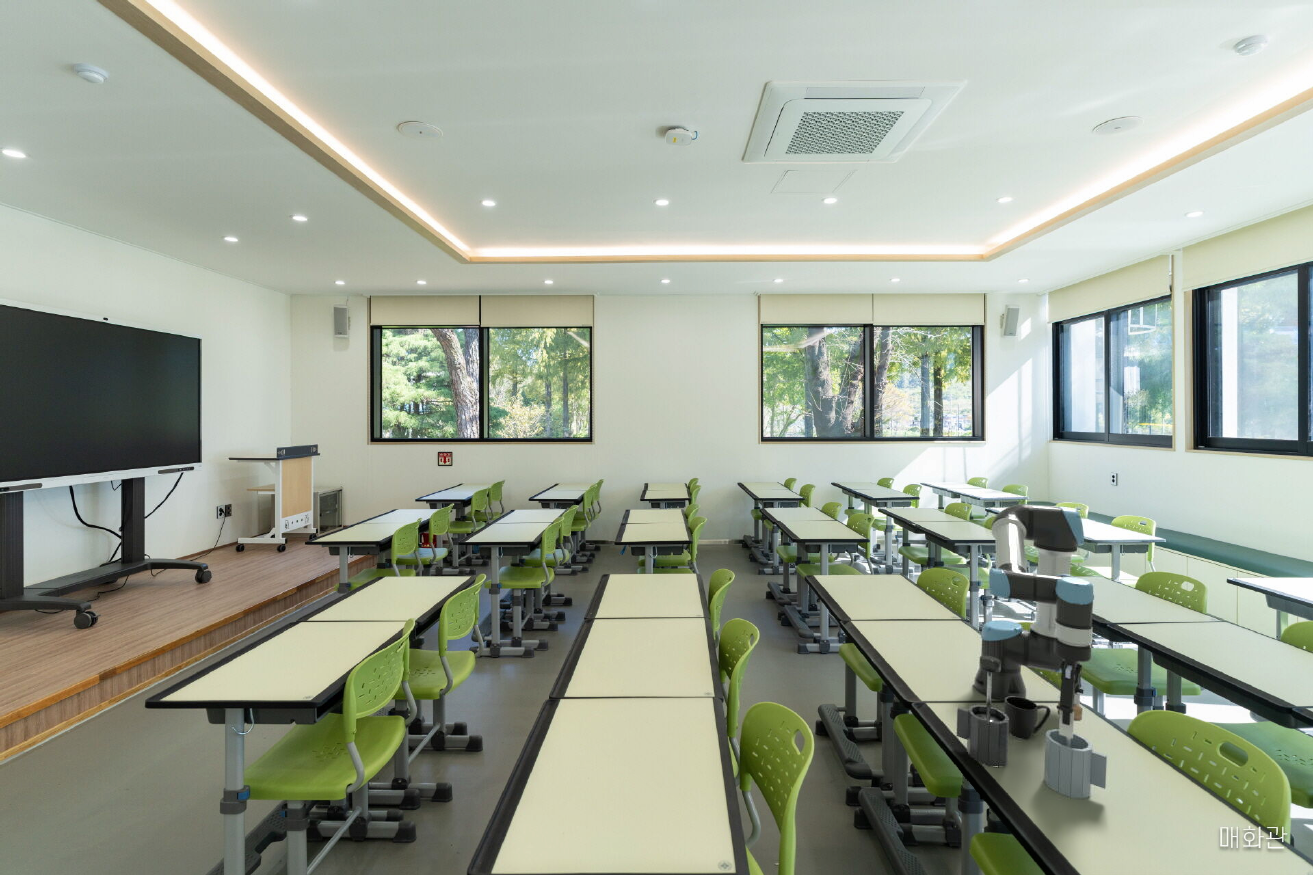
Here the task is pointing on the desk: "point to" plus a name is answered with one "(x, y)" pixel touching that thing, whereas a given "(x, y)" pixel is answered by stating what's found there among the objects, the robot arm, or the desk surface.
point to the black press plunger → (989, 683)
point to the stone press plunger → (1077, 717)
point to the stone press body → (1073, 765)
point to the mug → (1023, 716)
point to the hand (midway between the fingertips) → (1069, 726)
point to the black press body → (984, 735)
